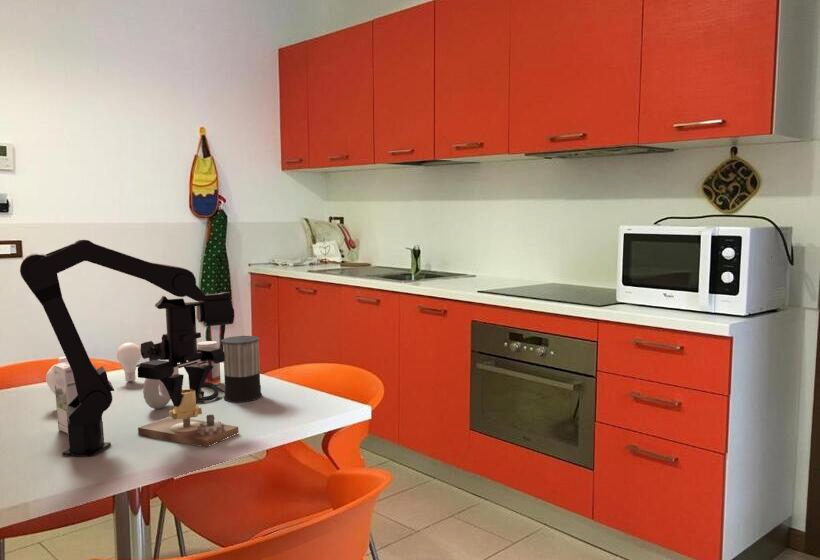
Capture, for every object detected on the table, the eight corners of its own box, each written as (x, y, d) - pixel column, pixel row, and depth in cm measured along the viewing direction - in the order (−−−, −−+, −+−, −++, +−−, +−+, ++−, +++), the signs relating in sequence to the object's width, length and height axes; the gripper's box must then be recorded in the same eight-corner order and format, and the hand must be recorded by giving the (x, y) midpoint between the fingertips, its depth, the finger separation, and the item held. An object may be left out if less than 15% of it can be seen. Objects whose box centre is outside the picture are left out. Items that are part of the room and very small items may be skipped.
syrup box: (96, 429, 146) (92, 362, 145) (68, 436, 142) (63, 367, 140) (84, 424, 150) (80, 359, 148) (56, 431, 145) (51, 364, 144)
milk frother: (269, 397, 169) (266, 338, 167) (209, 410, 158) (206, 347, 157) (241, 387, 179) (238, 331, 178) (183, 399, 169) (180, 340, 167)
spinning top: (48, 405, 166) (44, 356, 165) (82, 400, 169) (79, 352, 168) (47, 412, 159) (44, 362, 158) (84, 408, 163) (80, 358, 161)
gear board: (238, 433, 141) (237, 406, 140) (207, 447, 133) (205, 418, 133) (171, 422, 150) (170, 397, 149) (138, 434, 142) (136, 407, 141)
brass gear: (193, 419, 138) (191, 395, 137) (164, 419, 139) (163, 395, 138) (206, 410, 144) (204, 387, 143) (178, 410, 145) (177, 387, 144)
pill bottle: (192, 386, 182) (190, 344, 181) (206, 380, 188) (204, 340, 186) (211, 387, 180) (209, 345, 179) (225, 382, 185) (223, 341, 184)
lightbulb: (119, 380, 190) (116, 341, 189) (143, 378, 192) (141, 339, 190) (116, 385, 184) (114, 345, 183) (142, 383, 186) (139, 343, 184)
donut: (154, 414, 156) (152, 371, 155) (141, 414, 157) (138, 371, 156) (178, 402, 166) (175, 362, 165) (165, 402, 166) (162, 361, 165)
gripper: (186, 319, 151) (190, 388, 153) (115, 333, 135) (120, 410, 136) (225, 322, 146) (228, 394, 148) (156, 337, 130) (160, 417, 131)
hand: (185, 403), depth 141 cm, fingers closed on brass gear, 4 cm apart
